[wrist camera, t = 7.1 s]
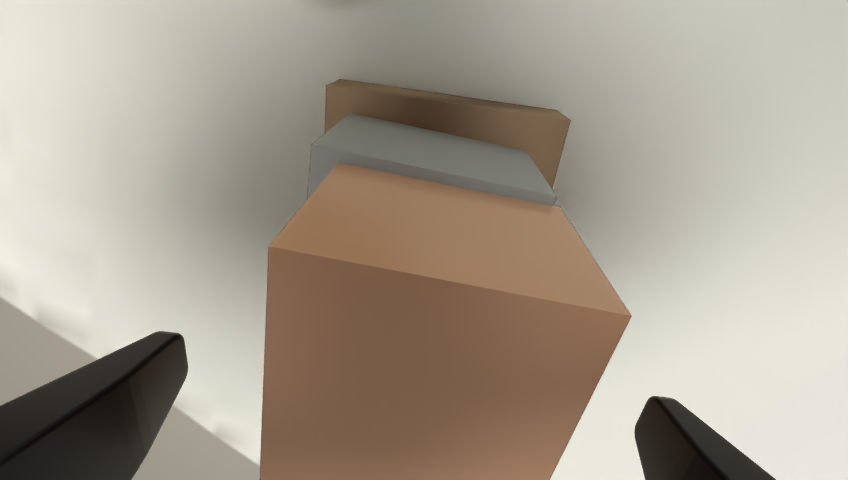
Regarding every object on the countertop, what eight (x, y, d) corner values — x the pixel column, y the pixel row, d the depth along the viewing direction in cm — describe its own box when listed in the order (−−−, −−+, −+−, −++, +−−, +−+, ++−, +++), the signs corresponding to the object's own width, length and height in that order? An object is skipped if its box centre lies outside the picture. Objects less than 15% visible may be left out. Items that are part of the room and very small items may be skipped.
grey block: (526, 150, 14) (556, 196, 10) (480, 297, 17) (491, 379, 13) (350, 112, 14) (311, 144, 10) (331, 267, 17) (294, 341, 13)
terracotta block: (560, 206, 11) (631, 316, 6) (500, 373, 13) (524, 530, 9) (338, 162, 10) (268, 246, 6) (319, 340, 13) (259, 485, 9)
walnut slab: (553, 108, 16) (570, 120, 14) (507, 286, 20) (515, 319, 17) (343, 77, 16) (326, 84, 14) (334, 262, 20) (320, 292, 17)
